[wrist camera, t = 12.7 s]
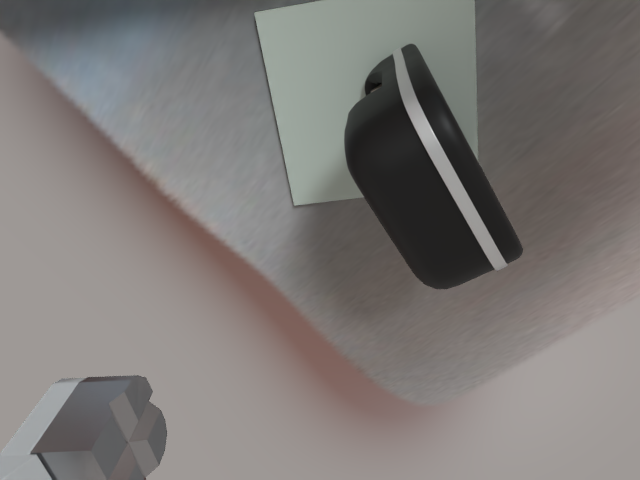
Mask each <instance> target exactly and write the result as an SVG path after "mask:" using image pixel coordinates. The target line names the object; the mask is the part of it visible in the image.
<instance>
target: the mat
mask: <svg viewBox="0 0 640 480" xmlns="http://www.w3.org/2000/svg"><path fill="white" fill-rule="evenodd" d="M254 14H255V19H256V24H257V29H258V33H259V38H260V43H261V48H262V53H263V58H264V62H265V67H266V72H267V77H268V82H269V87H270V91H271V96H272V101H273V106H274V111H275V116H276V120H277V125H278V130H279V135H280V140H281V145H282V149H283V154H284V159H285V164H286V169H287V174H288V179H289V183H290V188H291V193H292V198H293V203H294V206H295V205H304V204H312V203H321V202H330V201H338V200H347V199H356V198H364V196H363V194H362V193H361V191H360V190H359V188H358V187H357V185H356V183H355V182H354V180H353V178H352V176H351V174H350V172H349V170H348V167H347V162H346V156H345V148H344V132H345V127H346V123H347V118H348V113H349V112H350V110H351V109H352V108H353V106H354V105H355V104H356V103H357V102H359V101H360V100H361V99H363V98H364V97H365V96H366V94H365V81H366V78H367V76H368V75H369V73H370V72H371V71H372V69H374V68H375V67H376V66H377V65H378V64H379V63H380V62H381V61H382V60H384V59H385V58H387V57H388V56H390V55H392V52H393V51H394V50H396V49H397V48H399V47H400V48H403V47H404V46H406V45H408V44H414V45H416V46H417V48H418V49H419V51H420V53H421V55H422V57H423V59H424V60H425V62H426V64H427V66H428V68H429V70H430V72H431V74H432V76H433V77H434V79H435V81H436V83H437V85H438V87H439V89H440V91H441V93H442V94H443V96H444V98H445V100H446V102H447V104H448V106H449V108H450V110H451V111H452V113H453V115H454V117H455V119H456V121H457V123H458V125H459V127H460V129H461V130H462V132H463V134H464V136H465V138H466V140H467V142H468V144H469V146H470V147H471V149H472V151H473V153H474V155H475V157H476V159H477V161H478V123H477V78H476V33H475V0H320V1H314V2H309V3H303V4H297V5H292V6H286V7H280V8H275V9H269V10H263V11H258V12H254Z"/></svg>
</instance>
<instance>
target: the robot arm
mask: <svg viewBox="0 0 640 480" xmlns="http://www.w3.org/2000/svg"><path fill="white" fill-rule="evenodd" d="M152 392H153V391H152V389H151V387H150V385H149V383H148V381H147V379H146V378H145V377H141V376H138V375H137V376H112V377H111V376H109V377H88V378H69V379H61V380H59V381H57V382H55V383H53V384H52V386H51V387H50V388H49V390H48V391H47V392H46V393H45V395H44V396H43V397H42V399H41V400H40V401H39V403H38V404H37V405H36V407H35V408H34V409H33V411H32V412H31V413H30V415H29V416H28V417H27V419H26V420H25V422H23V424H22V425H21V426H20V428H19V429H18V430H17V432H16V433H15V434H14V436H13V437H12V439H11V440H10V441H9V442H8V444H7V445H6V446H5V448H4V449H3V450H2V452H1V453H0V480H146V478H145V477H146V476H147V475H149V474H150V473H151V472H152V471H153V470H154V469H155V468H156V467H157V466H159V464H160V461H161V459H162V456H163V454H164V451H165V445H166V437H167V430H166V423H165V419H164V417H163V414H162V412H161V410H160V409H159V408H157V407H156V406H155V405H153V404H152V403H151V402H149V399H150V397H151V395H152Z"/></svg>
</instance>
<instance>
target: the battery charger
mask: <svg viewBox="0 0 640 480" xmlns="http://www.w3.org/2000/svg"><path fill="white" fill-rule="evenodd" d="M365 94H366V96H365V97H364V98H363V99H361V100H360V101H359V102H357V103H356V104H355V105H354V106H353V108H352V109H351V110H350V112H349V113H348V118H347V123H346V127H345V132H344V148H345V156H346V162H347V167H348V170H349V172H350V174H351V176H352V178H353V180H354V182H355V183H356V185H357V187H358V188H359V190H360V191H361V193H362V194H363V196H364V198H365V199H366V201H367V202H368V204H369V205H370V207H371V209H372V210H373V212H374V213H375V215H376V216H377V218H378V219H379V221H380V223H381V224H382V226H383V227H384V229H385V230H386V232H387V233H388V235H389V236H390V238H391V240H392V241H393V243H394V244H395V246H396V247H397V249H398V250H399V252H400V253H401V255H402V256H403V258H404V259H405V261H406V262H407V264H408V266H409V267H410V269H411V270H412V272H413V273H414V274H415V276H416V277H417V278H418V279H419V280H420V281H422V282H423V283H424V284H425V285H427V286H430V287H432V288H435V289H448V288H451V287H454V286H458V285H460V284H462V283H465V282H467V281H469V280H471V279H474V278H476V277H478V276H480V275H483V274H485V273H487V272H489V271H492V270H494V269H495V270H496V271H498V270H500V269H503V268H505V267H507V266H508V263H509V262H512V261H514V260H516V259H517V258H519V257H520V256H521V255H522V252H523V248H522V245H521V243H520V241H519V239H518V237H517V235H516V233H515V231H514V229H513V227H512V226H511V224H510V222H509V220H508V218H507V216H506V214H505V212H504V210H503V208H502V206H501V205H500V203H499V201H498V199H497V197H496V195H495V193H494V191H493V189H492V187H491V186H490V184H489V182H488V180H487V178H486V176H485V174H484V172H483V170H482V168H481V166H480V165H479V163H478V161H477V159H476V157H475V155H474V153H473V151H472V149H471V147H470V146H469V144H468V142H467V140H466V138H465V136H464V134H463V132H462V130H461V129H460V127H459V125H458V123H457V121H456V119H455V117H454V115H453V113H452V111H451V110H450V108H449V106H448V104H447V102H446V100H445V98H444V96H443V94H442V93H441V91H440V89H439V87H438V85H437V83H436V81H435V79H434V77H433V76H432V74H431V72H430V70H429V68H428V66H427V64H426V62H425V60H424V59H423V57H422V55H421V53H420V51H419V49H418V48H417V46H416V45H414V44H408V45H406V46H404V47H403V48H400V47H399V48H397V49H396V50H394V51H393V52H392V55H390V56H388V57H387V58H385V59H384V60H382V61H381V62H380V63H379V64H378V65H377V66H376V67H375V68H374V69H372V71H371V72H370V73H369V75H368V76H367V78H366V81H365Z"/></svg>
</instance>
